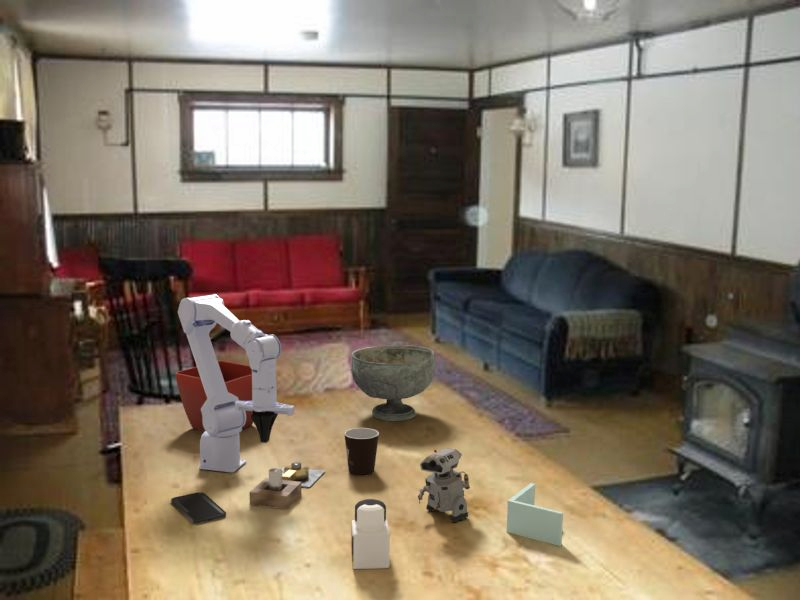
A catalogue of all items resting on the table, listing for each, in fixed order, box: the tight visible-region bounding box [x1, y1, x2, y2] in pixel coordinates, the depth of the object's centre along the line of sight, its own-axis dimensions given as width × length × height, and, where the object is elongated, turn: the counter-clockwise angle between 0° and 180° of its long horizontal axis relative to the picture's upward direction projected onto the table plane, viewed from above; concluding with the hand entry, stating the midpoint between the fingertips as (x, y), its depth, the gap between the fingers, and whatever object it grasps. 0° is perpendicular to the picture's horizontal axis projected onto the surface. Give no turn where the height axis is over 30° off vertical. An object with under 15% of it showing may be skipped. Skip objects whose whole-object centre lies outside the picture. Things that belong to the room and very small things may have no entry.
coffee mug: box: [344, 427, 380, 477], centre depth 216 cm, size 12×9×10 cm
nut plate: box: [281, 465, 326, 489], centre depth 211 cm, size 11×11×1 cm
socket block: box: [249, 477, 302, 510], centre depth 197 cm, size 9×9×3 cm
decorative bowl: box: [350, 344, 436, 422], centre depth 261 cm, size 26×26×20 cm
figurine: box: [417, 447, 471, 524], centre depth 187 cm, size 9×12×15 cm
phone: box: [170, 491, 227, 525], centre depth 191 cm, size 8×1×15 cm
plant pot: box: [175, 360, 254, 432], centre depth 248 cm, size 19×19×17 cm
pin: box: [268, 467, 282, 491], centre depth 197 cm, size 3×3×7 cm
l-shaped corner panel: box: [506, 482, 564, 547], centre depth 183 cm, size 12×12×8 cm
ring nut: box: [282, 461, 310, 481], centre depth 208 cm, size 6×10×3 cm, turn 165°
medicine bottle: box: [350, 498, 391, 570], centre depth 167 cm, size 7×7×12 cm
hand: (265, 441), depth 206 cm, fingers closed
